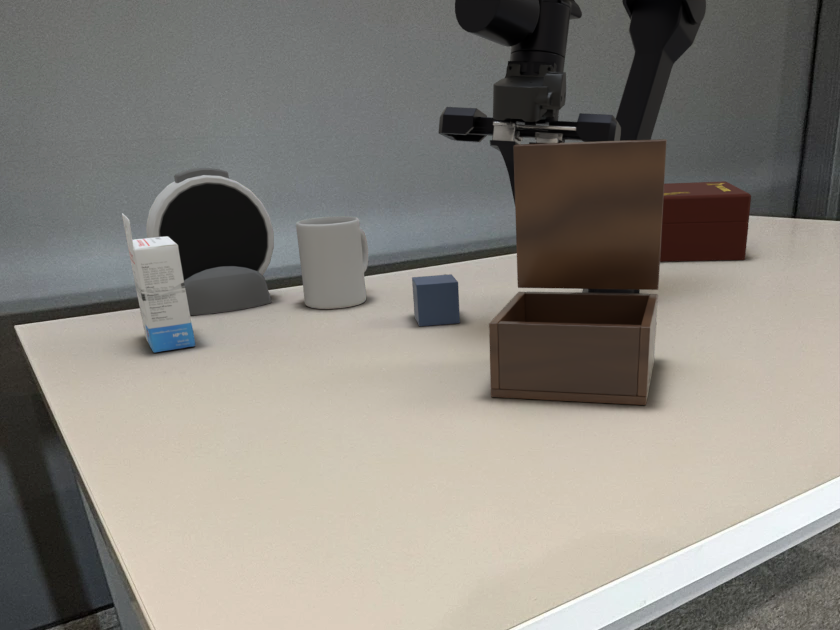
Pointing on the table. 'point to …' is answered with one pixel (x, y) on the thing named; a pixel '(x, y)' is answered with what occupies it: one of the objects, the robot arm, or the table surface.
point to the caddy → (574, 347)
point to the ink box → (160, 291)
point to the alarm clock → (216, 239)
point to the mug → (332, 261)
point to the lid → (589, 214)
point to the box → (704, 222)
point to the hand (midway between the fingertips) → (520, 213)
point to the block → (436, 300)
